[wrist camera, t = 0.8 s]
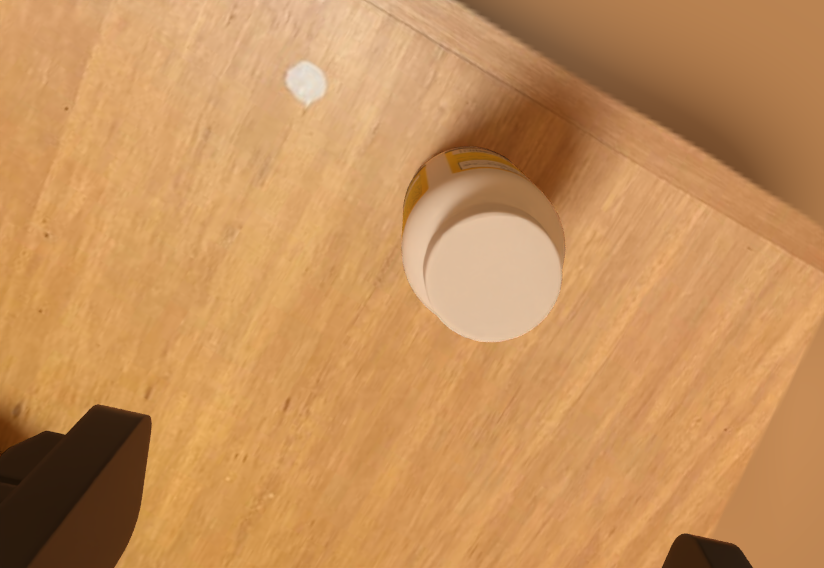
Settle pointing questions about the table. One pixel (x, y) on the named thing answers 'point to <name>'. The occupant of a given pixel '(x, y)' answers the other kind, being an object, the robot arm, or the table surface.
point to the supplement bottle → (481, 245)
